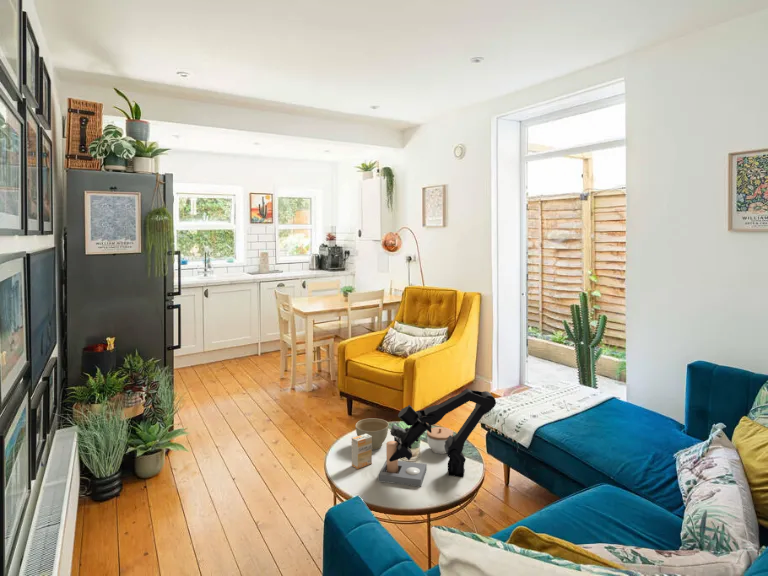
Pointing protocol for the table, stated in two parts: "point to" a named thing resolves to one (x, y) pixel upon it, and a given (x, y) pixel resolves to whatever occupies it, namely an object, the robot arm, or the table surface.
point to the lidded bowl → (438, 439)
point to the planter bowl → (373, 430)
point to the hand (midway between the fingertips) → (389, 457)
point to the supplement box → (361, 451)
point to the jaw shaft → (390, 448)
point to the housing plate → (404, 473)
